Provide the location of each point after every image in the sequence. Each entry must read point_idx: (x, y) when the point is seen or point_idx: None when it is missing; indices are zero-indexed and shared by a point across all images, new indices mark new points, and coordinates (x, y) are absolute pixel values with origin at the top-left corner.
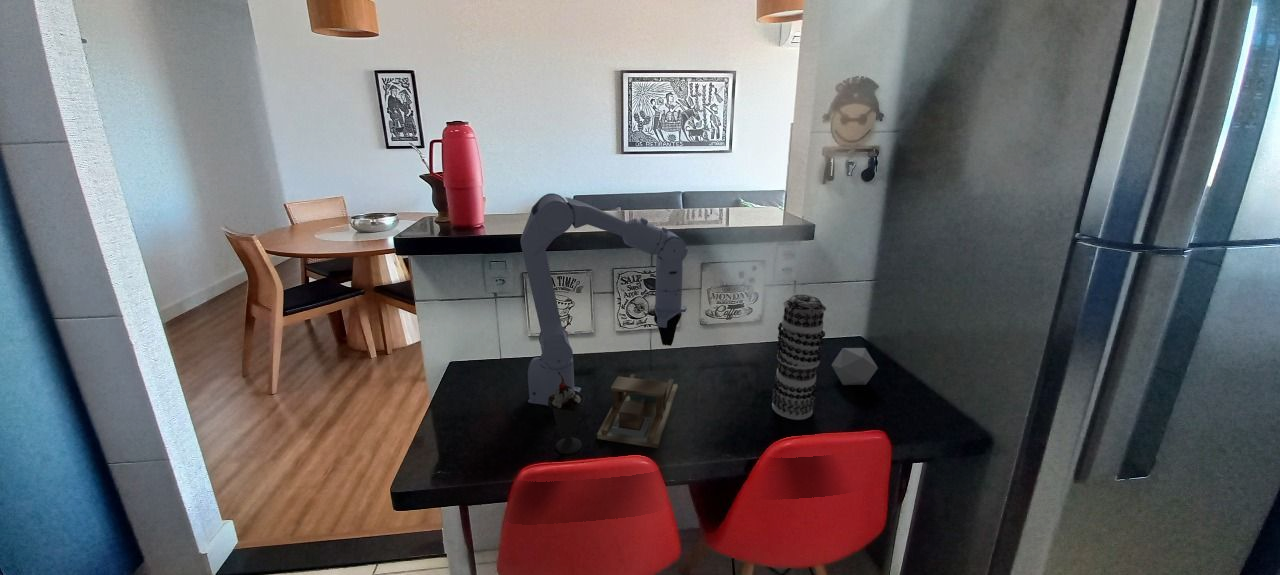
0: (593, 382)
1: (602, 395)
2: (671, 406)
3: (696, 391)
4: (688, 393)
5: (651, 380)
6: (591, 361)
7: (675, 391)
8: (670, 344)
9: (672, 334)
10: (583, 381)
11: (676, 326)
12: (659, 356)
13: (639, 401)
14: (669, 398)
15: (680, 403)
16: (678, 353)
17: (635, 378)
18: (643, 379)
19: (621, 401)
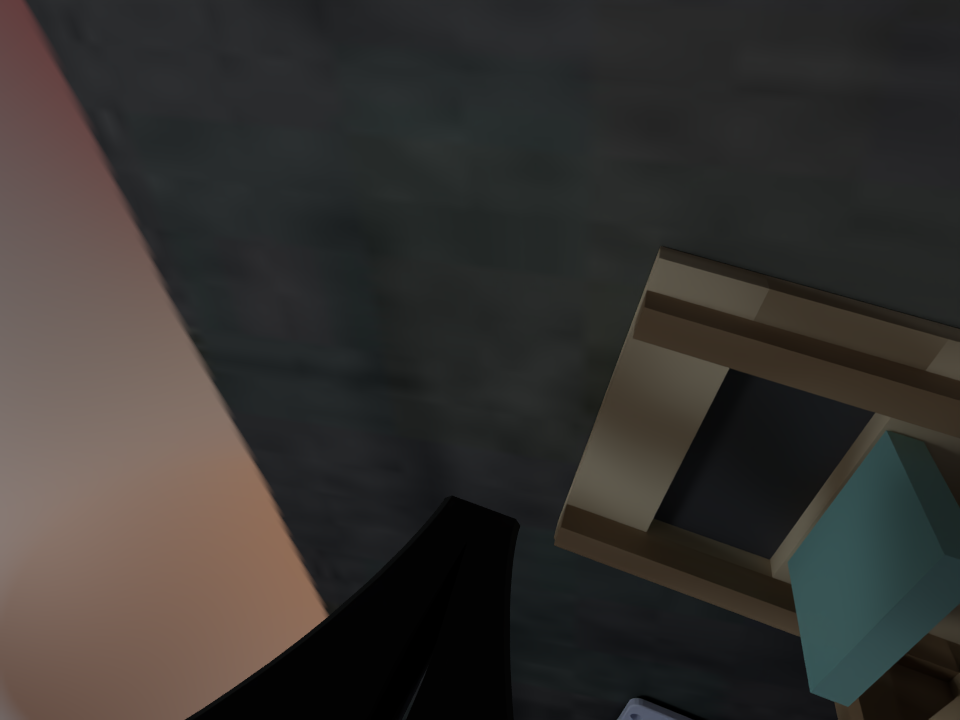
0: (562, 640)
1: (694, 635)
2: (954, 329)
3: (727, 87)
4: (751, 165)
5: (903, 595)
6: None
7: (770, 289)
8: (515, 540)
9: (507, 694)
10: (552, 668)
11: (287, 663)
12: (243, 315)
13: None
14: (877, 348)
15: (906, 249)
16: (169, 187)
17: (831, 675)
18: (863, 636)
19: (906, 653)
